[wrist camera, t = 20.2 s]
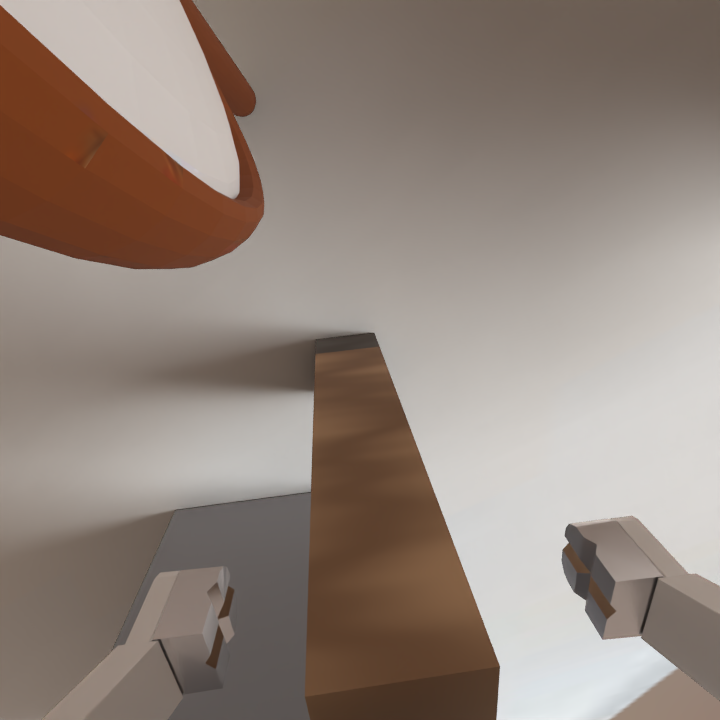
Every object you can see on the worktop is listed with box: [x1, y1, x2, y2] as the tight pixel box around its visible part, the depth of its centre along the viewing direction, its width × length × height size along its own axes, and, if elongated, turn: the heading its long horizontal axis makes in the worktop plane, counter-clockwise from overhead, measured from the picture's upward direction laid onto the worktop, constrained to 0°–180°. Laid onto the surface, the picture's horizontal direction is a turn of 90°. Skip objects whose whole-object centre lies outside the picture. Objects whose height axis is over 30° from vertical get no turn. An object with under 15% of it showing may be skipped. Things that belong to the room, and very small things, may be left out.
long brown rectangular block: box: [305, 333, 500, 720], centre depth 14 cm, size 3×3×16 cm
